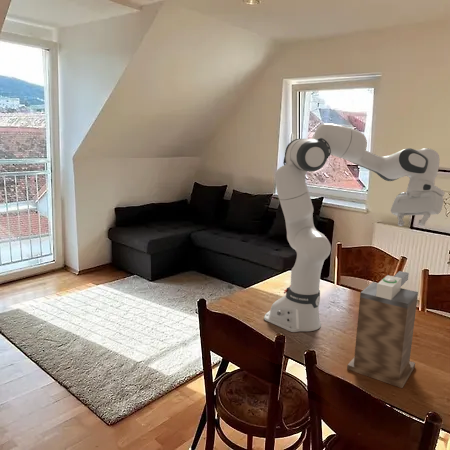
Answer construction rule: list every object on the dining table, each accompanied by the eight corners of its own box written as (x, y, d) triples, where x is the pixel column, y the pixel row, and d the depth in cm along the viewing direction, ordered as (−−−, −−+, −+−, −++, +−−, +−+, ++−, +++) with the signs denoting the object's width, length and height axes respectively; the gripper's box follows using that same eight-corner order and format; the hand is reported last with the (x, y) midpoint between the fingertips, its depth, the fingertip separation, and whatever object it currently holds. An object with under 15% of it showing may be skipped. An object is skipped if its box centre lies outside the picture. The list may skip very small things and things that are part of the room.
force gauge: (376, 296, 130) (377, 282, 129) (396, 277, 147) (397, 265, 147) (391, 299, 128) (392, 285, 127) (410, 280, 145) (411, 267, 144)
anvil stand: (347, 369, 138) (353, 292, 133) (363, 350, 150) (370, 279, 144) (402, 388, 129) (412, 306, 123) (414, 366, 140) (424, 291, 135)
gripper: (392, 190, 170) (383, 222, 168) (437, 185, 152) (428, 221, 149) (403, 196, 173) (394, 228, 170) (449, 191, 154) (440, 228, 152)
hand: (410, 225), depth 160 cm, fingers open, 8 cm apart
